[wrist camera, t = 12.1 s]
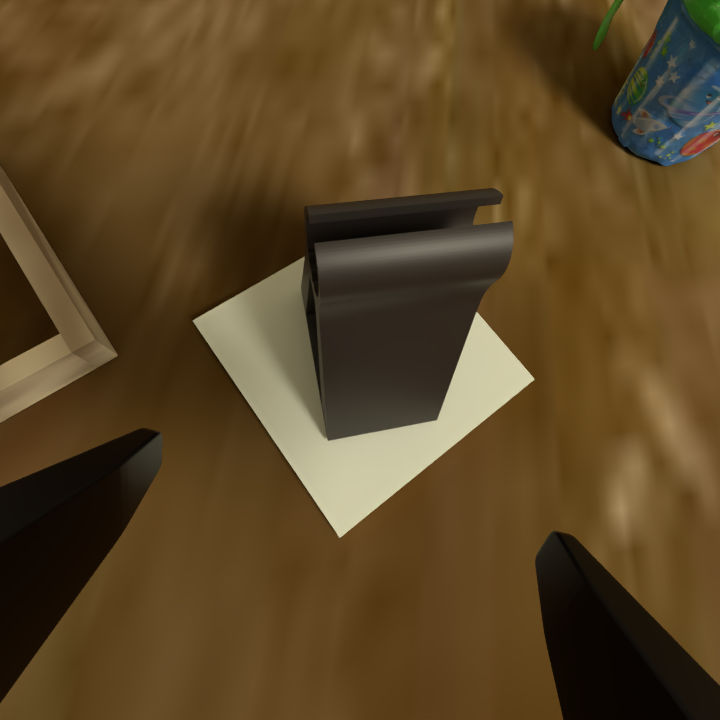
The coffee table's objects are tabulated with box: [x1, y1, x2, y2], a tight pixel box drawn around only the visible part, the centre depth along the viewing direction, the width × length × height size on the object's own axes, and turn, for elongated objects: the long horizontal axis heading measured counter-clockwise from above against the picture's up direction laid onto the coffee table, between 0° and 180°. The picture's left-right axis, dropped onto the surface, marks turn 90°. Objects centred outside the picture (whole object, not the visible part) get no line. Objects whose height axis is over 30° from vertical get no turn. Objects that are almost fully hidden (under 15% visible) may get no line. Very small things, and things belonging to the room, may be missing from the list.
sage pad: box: [193, 257, 534, 537], centre depth 24 cm, size 14×14×1 cm
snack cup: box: [593, 0, 720, 166], centre depth 28 cm, size 16×10×10 cm
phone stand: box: [301, 188, 513, 441], centre depth 17 cm, size 9×6×12 cm, turn 11°
